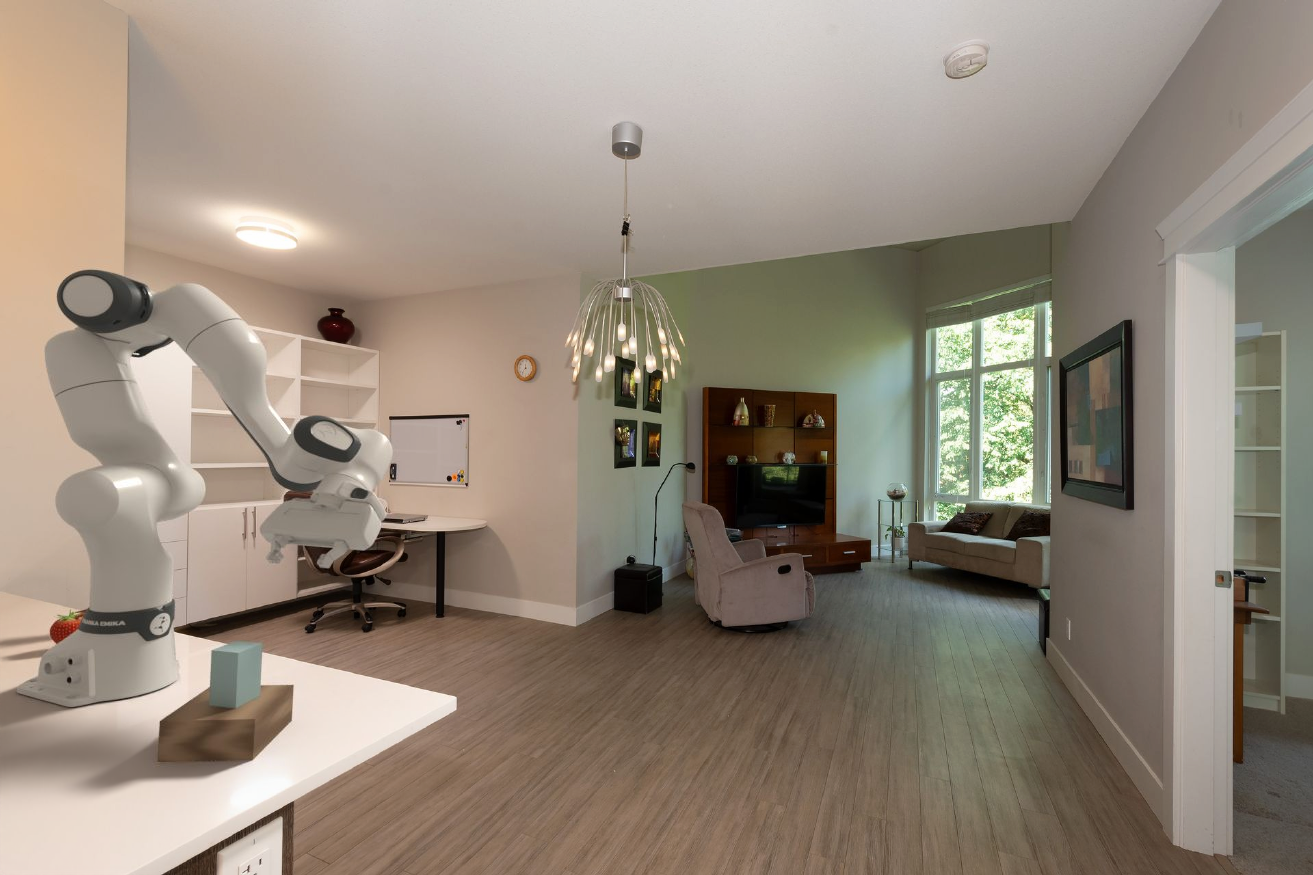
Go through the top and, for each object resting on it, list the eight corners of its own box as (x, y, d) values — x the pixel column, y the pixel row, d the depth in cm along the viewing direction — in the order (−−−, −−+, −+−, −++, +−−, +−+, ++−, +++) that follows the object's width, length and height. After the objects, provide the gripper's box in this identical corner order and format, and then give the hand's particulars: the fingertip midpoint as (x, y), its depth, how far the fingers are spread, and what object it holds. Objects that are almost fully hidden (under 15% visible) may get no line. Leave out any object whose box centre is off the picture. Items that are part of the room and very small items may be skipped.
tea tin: (208, 705, 87) (211, 650, 87) (234, 693, 92) (236, 640, 92) (235, 708, 87) (238, 652, 87) (260, 695, 91) (262, 642, 91)
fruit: (67, 654, 118) (69, 613, 118) (41, 653, 118) (43, 612, 118) (93, 645, 123) (95, 606, 123) (68, 644, 123) (70, 605, 124)
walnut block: (157, 765, 82) (159, 721, 82) (208, 724, 94) (211, 685, 94) (252, 762, 84) (255, 718, 84) (291, 722, 95) (293, 684, 96)
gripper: (279, 486, 111) (231, 547, 101) (382, 493, 108) (343, 557, 98) (296, 508, 115) (251, 569, 105) (395, 515, 112) (359, 579, 102)
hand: (296, 563), depth 102 cm, fingers open, 8 cm apart
